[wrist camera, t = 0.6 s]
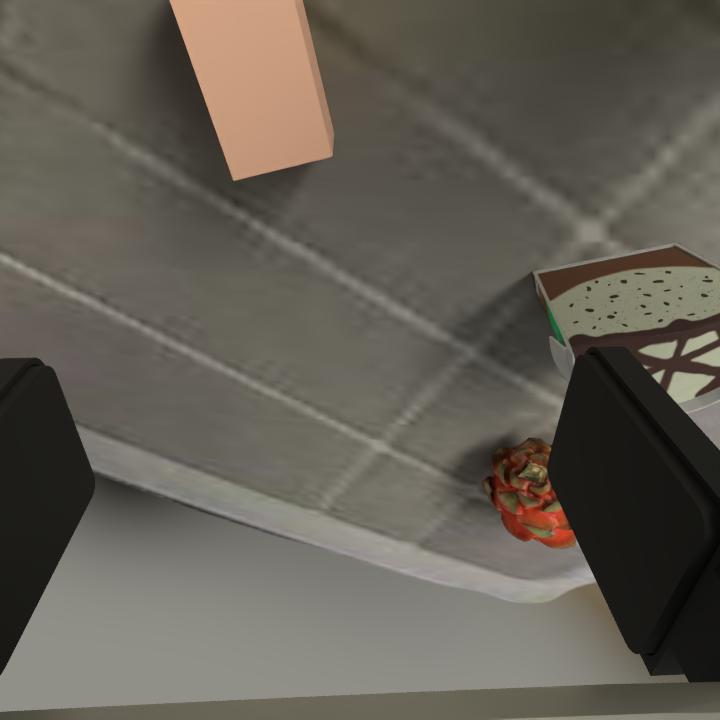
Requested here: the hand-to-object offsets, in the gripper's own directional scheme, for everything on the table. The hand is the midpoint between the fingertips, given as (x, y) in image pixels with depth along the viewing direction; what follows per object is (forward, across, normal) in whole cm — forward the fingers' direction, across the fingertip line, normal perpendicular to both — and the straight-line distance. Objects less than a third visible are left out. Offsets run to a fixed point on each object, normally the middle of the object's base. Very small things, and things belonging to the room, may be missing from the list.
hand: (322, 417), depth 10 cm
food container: (+25, -19, +10) cm, 32 cm away
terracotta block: (+25, +3, -5) cm, 25 cm away
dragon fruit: (+25, -17, +26) cm, 40 cm away
